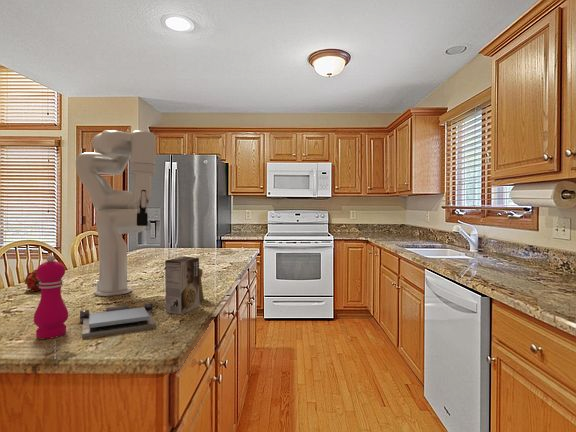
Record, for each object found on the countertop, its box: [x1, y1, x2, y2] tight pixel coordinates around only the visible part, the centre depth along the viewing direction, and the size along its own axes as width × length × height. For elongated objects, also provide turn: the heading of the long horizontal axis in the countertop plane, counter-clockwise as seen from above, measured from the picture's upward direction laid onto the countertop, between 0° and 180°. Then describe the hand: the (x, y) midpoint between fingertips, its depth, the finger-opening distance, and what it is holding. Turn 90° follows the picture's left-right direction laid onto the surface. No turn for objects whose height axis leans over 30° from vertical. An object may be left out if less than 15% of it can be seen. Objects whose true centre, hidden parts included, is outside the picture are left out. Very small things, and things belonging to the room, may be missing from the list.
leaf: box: [89, 304, 149, 328], centre depth 97 cm, size 15×14×2 cm
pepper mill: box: [33, 254, 69, 339], centre depth 88 cm, size 7×7×20 cm
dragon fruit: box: [24, 269, 41, 292], centre depth 137 cm, size 8×8×12 cm
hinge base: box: [79, 302, 157, 339], centre depth 97 cm, size 17×19×3 cm
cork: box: [199, 267, 205, 302], centre depth 123 cm, size 6×6×11 cm
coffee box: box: [164, 256, 200, 315], centre depth 110 cm, size 9×6×16 cm
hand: (142, 225), depth 116 cm, fingers closed
